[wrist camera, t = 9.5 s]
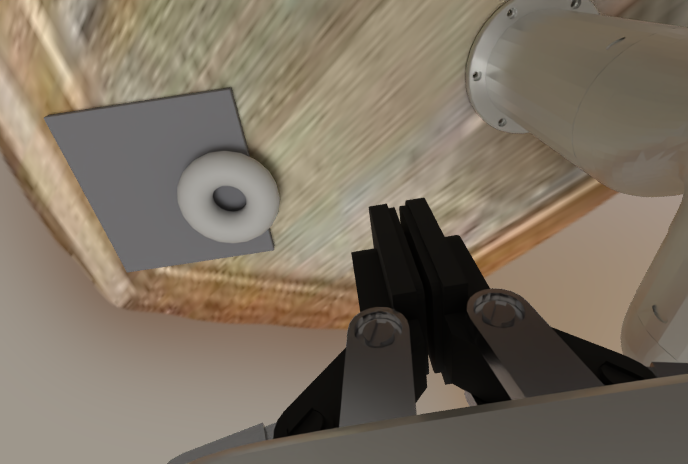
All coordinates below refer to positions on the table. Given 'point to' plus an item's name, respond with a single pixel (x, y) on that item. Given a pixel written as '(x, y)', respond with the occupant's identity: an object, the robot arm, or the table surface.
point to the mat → (154, 173)
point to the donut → (236, 173)
